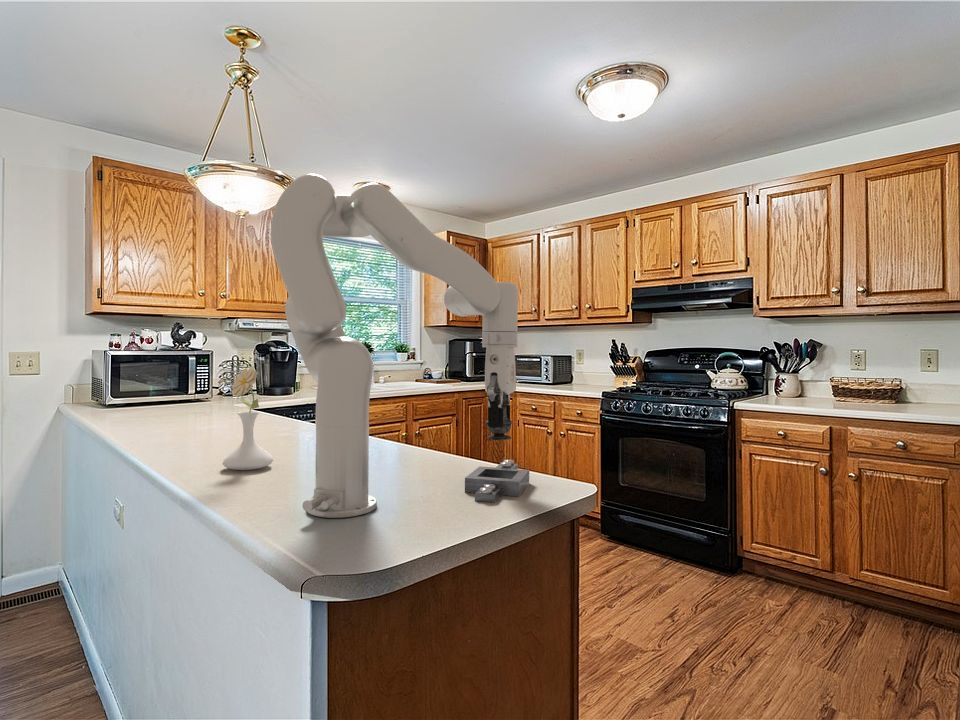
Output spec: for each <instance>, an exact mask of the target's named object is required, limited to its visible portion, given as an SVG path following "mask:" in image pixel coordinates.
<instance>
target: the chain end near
mask: <svg viewBox="0 0 960 720" xmlns="http://www.w3.org/2000/svg"><path fill="white" fill-rule="evenodd" d="M485 477H491V478H505V479H512V477H498V476H485ZM529 484H530V477H529V478H528V479H527V480H526V482H525V483H524V484H523V485H522V487H521V488H520V489H508V488H495V486H496V485H494V484H485V485H484V487H483V486H471V485H465V484H464V493H468V492H473V493H472V494H474V501H475V502H482V501H487V502H486V503H493V502H495V501H496V502H497V501H498V500H499V498H501V497H502V496H503V495H508V496H507V497H515V496H519V497H520V496H521V495H522V494H523V493H524V491H525V490H526V489H527V487H528V486H529ZM527 485H528V486H527ZM526 486H527V487H526ZM524 489H525V490H524ZM521 493H522V494H521ZM496 502H495V503H496Z"/></svg>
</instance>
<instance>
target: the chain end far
mask: <svg viewBox="0 0 960 720" xmlns="http://www.w3.org/2000/svg"><path fill="white" fill-rule="evenodd" d="M518 464H519V463H515V461H514V460H513V459H504V460H503V462H502V461H501V462H500V463H499V464H498V465H497V466H496V467H495V466H493V467H492V466H482V465H481V466H478V467H477V468H475V469H474V470H473V471H472V472H471V473H469V474H467V476H465V477H464V486H465V485H471V486H483V487H484V485H485V484H494V485H496V486H495V488H508V489H520V488H521V487H522V485H523V484H524V483H525V482H526V480H527V479H528V478H529V479H530V469H520V468H519V465H518ZM485 476H498V477H512V479H505V478H491V477H485Z"/></svg>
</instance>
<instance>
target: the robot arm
mask: <svg viewBox="0 0 960 720" xmlns="http://www.w3.org/2000/svg"><path fill="white" fill-rule="evenodd" d="M369 236H371V237H372V238H373V239H374V240H375V241H377V243H378V244H380V245H381V246H382V247H384V249H385V250H386V251H388V252H389V253H390V254H391V255H392V256H393V257H394V258H395V259H396V260H397V261H399V263H401V264H402V265H403V266H404V267H406V268H408V269H411V270H413V271H416V272H419V273H423V274H427V275H430V276H432V277H435V279H436V278H437V279H439V280H440V281H442V282H444V283H445V284H446V285H448V287H447V289H446V290H445V292H444V295H443V303H444V306H445V308H446V309H447V310H448V311H449V312H450V313H451V314H453V315H455V316H458V317H471V316H481V317H482V332H481V333H482V334H481V335H482V337H481V339H482V340H481V341H482V344H481V347H482V348H486V349H485V362H484V390H485V393H487V396H488V398H487V399H488V400H487V401H488V402H487V420H488V426H489V427H503V408H502V400H503V392H504V393H505V394H506V403H507V404H508V405H506V414H507V418H508V419H509V420H510V421H511V394H512V393H514V392H515V391H516V390H517V374H516V373H517V372H516V355H515V348H518V320H519V319H518V316H519V315H518V314H519V313H518V304H519V303H518V301H519V300H518V296H519V294H518V293H519V291H518V286H517V285H516V284H515V283H512V282H509V281H508V282H507V281H496V280H495V279H494V277H493V276H492V275H491V274H490V273H489V272H488V271H487V270H486V269H485V268H484V266H482V265H481V264H480V263H479V262H478V261H477V260H476V258H474V257H472V256H471V255H470V254H469V253H467V252H466V251H464V250H462V249H461V248H459V247H457V246H455V245H454V244H452V243H450V242H448V241H447V240H445V239H443V238H441V237H439V236H437V235H436V234H435V233H433V232H432V231H431V230H430V229H429V228H428V227H427V226H426V225H425V224H424V223H423V222H421V221H420V219H419V218H417V217H416V215H414V214H413V213H412V212H411V211H410V209H408V207H407V206H405V204H403V203H402V202H401V201H400V200H399V198H397V197H396V195H394V194H393V193H392V192H391V191H390V190H389V189H387V188H386V187H385V186H384V185H382V184H379V183H377V182H369V183H365V184H363V185H361V186H359V187H357V189H355V190H354V191H353V192H352V193H351V194H336V192H335V189H334V187H333V186H332V184H331V182H329V180H328V179H327V178H325V177H323V176H322V175H319V174H315V173H307V174H303V175H300V176H298V177H296V178H295V179H294V180H293V181H292V182H291V183H290V184H289V185H288V186H287V187H285V189H284V191H283V192H282V193H281V195H280V196H279V198H278V200H277V202H276V204H275V207H274V210H273V214H272V217H271V222H270V243H271V249H272V252H273V257H274V259H275V262H276V264H277V267H278V270H279V273H280V277H281V279H282V281H283V285H284V286H285V289H286V291H287V294H288V297H287V299H286V302H285V306H284V312H285V318H286V322H287V325H288V327H289V330H290V332H291V334H292V337H293V341H294V342H295V344H296V347H297V350H298V352H299V354H300V356H301V358H302V362H303V363H304V365H305V367H306V369H307V371H308V373H309V374H310V376H311V377H312V378H313V379H314V380H315V381H316V382H317V390H316V400H315V423H314V424H315V488H314V489H313V496H312V497H310V498H308V499H306V500H304V501H303V502H302V508H303V511H305V512H307V513H308V514H309V515H311V516H315V517H320V518H326V519H327V518H329V519H344V518H350V517H351V518H352V517H357V516H361V515H364V514H369V513H371V512H372V511H374V510H375V509H376V508H377V506H378V503H377V501H378V500H377V499H376V498H375V497H374V496H373V495H369V483H370V482H369V479H370V478H369V477H370V475H369V470H370V469H369V468H370V467H369V465H370V464H369V463H370V462H369V459H370V456H369V454H370V453H369V452H370V447H369V446H370V423H369V422H370V398H371V397H370V396H371V389H372V379H373V372H374V369H373V367H374V366H373V364H374V363H373V360H372V356H371V353H370V351H369V350H368V348H367V347H366V345H365V344H363V343H362V342H361V341H359V340H358V339H356V338H353V337H350V336H346V334H345V331H344V329H343V327H342V324H343V323H344V321H345V318H346V316H347V305H346V302H345V298H344V297H343V293H342V292H341V290H340V287H339V284H338V283H337V280H336V278H335V274H334V272H333V270H332V267H331V265H330V262H329V259H328V256H327V253H326V250H325V246H324V239H323V238H345V239H346V238H348V239H349V238H365V237H369ZM496 392H500V393H496ZM498 397H499V400H498Z"/></svg>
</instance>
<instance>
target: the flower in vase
mask: <svg viewBox="0 0 960 720" xmlns="http://www.w3.org/2000/svg"><path fill="white" fill-rule="evenodd" d="M257 375H258V372H257V370H256V369H255V367H252V366H250V367H249V368H247V367H244V369H243V370H241V372H240V373H238V374H236V378H235V379H234V382H233V384H232V385H231V388H232V390H231V395H233V396H234V397H235V398H237V397H238V398H239V397H241V398H240V399H241V400H240V401H241V403H243V404H244V405H246V406H247V407H249V410H244V411H238V412H237V415H238V416H239V417H240V420H241V422H242V428H243V429H242V430H243V431H242V433H243V434H242V435H243V437H242V441H241V444H240V445H238V447H236V448H235V449H234V450H232V452H230V453H229V454H228V455H227V456H226V457H225V458H224V459H223V462H222V465H223V467H224V468H225V469H226V468H227V469H229V470H233V471H234V470H235V471H250V470H251V471H252V470H257V469H263V468H265V467H267V466H270V465H272V463H273V461H274V459H273V458H274V457H273V456H272V455H271V454H270V453H269V452H268V451H266V450H265V449H264V448H262V447H261V446H260V445H258V444H257V443H256V441H255V440H254V439H255V438H254V428H255V422H256V419H257V417H258V415H259V414H260V411H257V410H253V409H257V408H259V407H260V405H259V399H258V398H255V395H254V392H253V389H252V387H253V384H256V380H257V377H258V376H257ZM249 391H250V393H251V396H252V402H250V401H248V400H246V399H245V398H244V397H243V396H245V394H246V393H248V392H249Z"/></svg>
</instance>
